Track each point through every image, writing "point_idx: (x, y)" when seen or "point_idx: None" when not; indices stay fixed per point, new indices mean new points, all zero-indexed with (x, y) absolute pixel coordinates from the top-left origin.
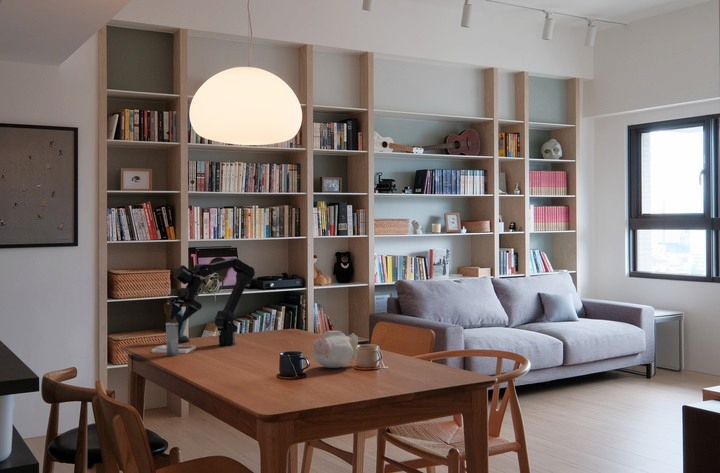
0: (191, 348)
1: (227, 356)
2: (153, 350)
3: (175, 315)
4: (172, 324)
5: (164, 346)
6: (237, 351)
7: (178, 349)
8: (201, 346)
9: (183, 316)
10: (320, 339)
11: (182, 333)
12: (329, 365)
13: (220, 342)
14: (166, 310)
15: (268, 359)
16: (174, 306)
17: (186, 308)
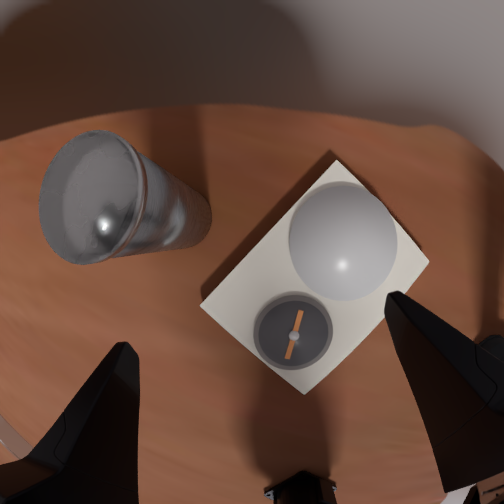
0: (258, 356)
1: (58, 379)
2: (329, 167)
3: (410, 381)
4: (45, 184)
5: (373, 246)
6: None
7: (253, 283)
8: (340, 421)
9: (93, 378)
10: None
11: None
12: None
13: (310, 482)
14: None
15: (7, 409)
16: (495, 438)
17: (40, 468)
